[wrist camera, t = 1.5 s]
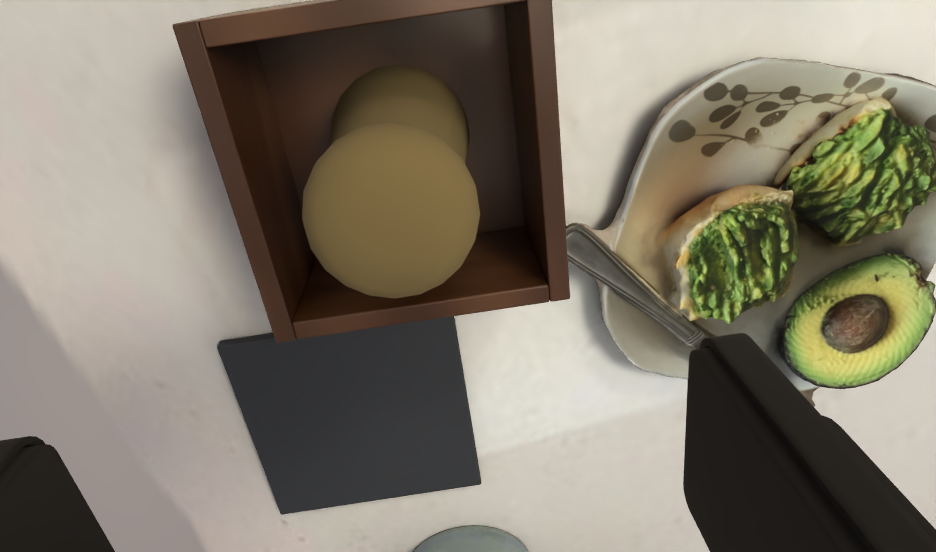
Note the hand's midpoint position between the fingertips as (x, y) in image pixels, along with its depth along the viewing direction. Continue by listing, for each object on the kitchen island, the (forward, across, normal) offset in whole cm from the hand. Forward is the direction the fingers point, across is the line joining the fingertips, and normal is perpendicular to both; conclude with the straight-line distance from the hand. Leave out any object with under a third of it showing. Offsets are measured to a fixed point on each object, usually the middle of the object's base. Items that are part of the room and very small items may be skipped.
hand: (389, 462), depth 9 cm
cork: (+20, 0, 0) cm, 20 cm away
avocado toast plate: (+20, -17, +8) cm, 28 cm away
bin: (+20, 0, 0) cm, 20 cm away
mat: (+20, +5, +15) cm, 25 cm away
